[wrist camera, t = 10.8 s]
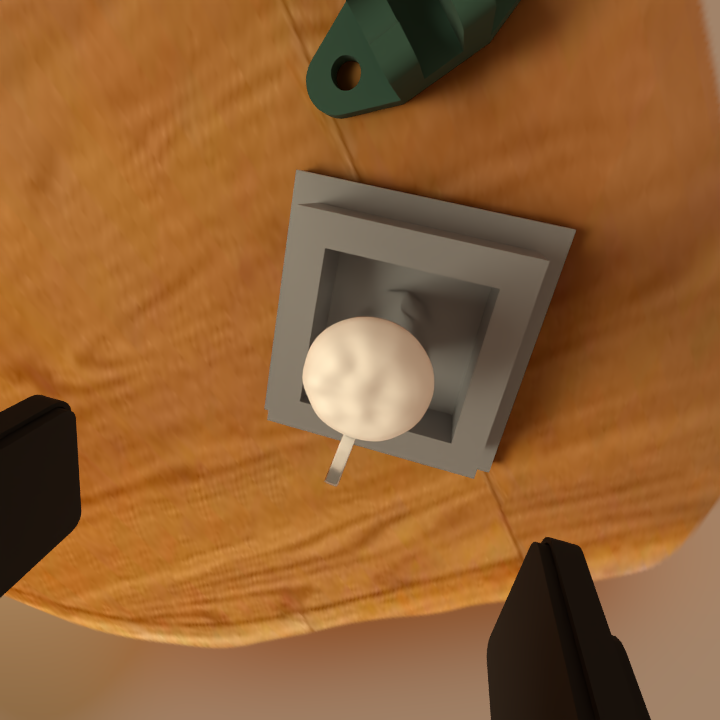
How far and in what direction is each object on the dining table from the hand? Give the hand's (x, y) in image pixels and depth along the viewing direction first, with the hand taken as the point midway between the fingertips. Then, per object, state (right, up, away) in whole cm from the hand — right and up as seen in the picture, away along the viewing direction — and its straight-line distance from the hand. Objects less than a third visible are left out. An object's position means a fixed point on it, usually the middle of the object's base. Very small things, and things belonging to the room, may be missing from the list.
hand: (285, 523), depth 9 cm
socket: (+4, +5, +15) cm, 17 cm away
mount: (+4, +18, +11) cm, 21 cm away
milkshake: (+3, +5, +15) cm, 16 cm away
